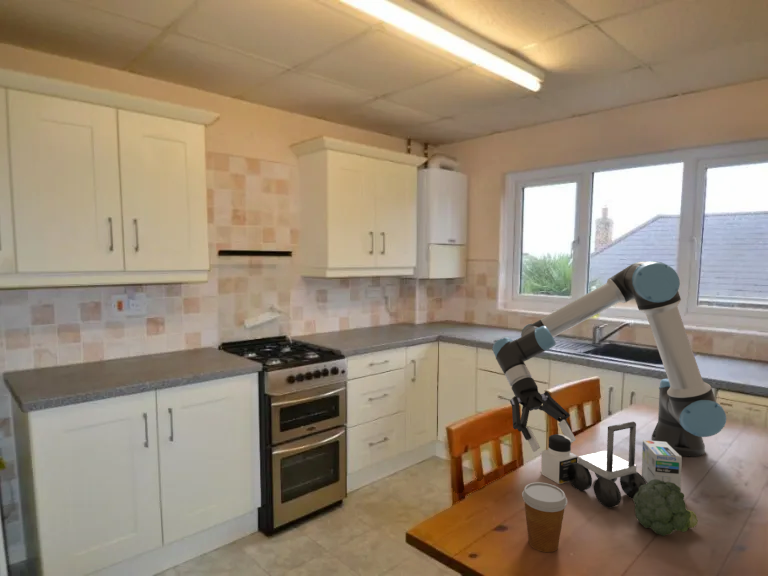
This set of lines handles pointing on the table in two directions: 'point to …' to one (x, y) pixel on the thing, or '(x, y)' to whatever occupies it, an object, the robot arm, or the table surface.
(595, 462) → the trolley
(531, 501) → the disposable coffee cup
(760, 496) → the table surface
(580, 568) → the table surface
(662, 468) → the light bulb box
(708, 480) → the table surface
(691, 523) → the vegetable
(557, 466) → the medicine bottle
